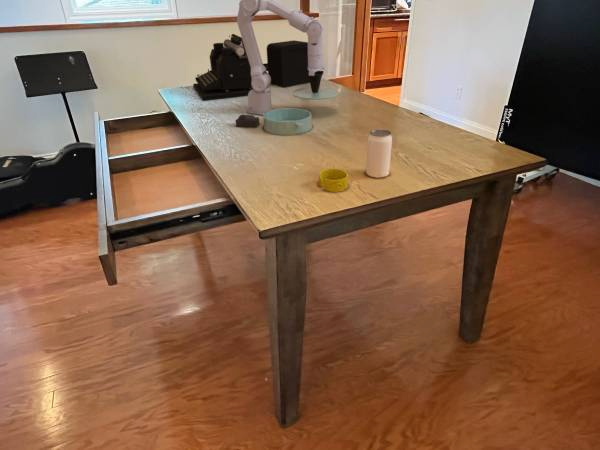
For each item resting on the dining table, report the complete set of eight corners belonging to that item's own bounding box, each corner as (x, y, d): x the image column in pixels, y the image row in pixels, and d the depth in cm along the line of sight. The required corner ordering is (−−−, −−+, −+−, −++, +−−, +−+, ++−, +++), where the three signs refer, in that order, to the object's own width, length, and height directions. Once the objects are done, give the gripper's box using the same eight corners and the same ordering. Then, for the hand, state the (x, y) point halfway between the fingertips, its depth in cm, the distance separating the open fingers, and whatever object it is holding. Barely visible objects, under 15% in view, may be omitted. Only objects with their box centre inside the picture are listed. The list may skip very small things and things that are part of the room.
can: (386, 168, 120) (389, 128, 114) (391, 178, 114) (395, 136, 108) (364, 169, 120) (366, 129, 113) (368, 178, 114) (370, 137, 108)
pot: (278, 140, 144) (278, 126, 141) (254, 123, 162) (253, 110, 159) (323, 131, 150) (323, 118, 148) (295, 116, 168) (295, 104, 166)
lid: (305, 103, 157) (305, 90, 155) (284, 93, 172) (284, 81, 169) (347, 96, 164) (348, 84, 162) (324, 87, 179) (324, 76, 177)
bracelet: (335, 177, 116) (335, 166, 114) (353, 187, 110) (354, 175, 108) (314, 183, 112) (313, 172, 111) (331, 194, 107) (331, 182, 105)
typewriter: (193, 87, 219) (185, 36, 206) (243, 82, 227) (238, 32, 214) (203, 100, 194) (194, 43, 181) (258, 94, 202) (254, 39, 189)
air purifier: (296, 78, 234) (295, 39, 223) (312, 81, 224) (312, 41, 214) (266, 83, 223) (264, 43, 213) (282, 87, 213) (280, 46, 203)
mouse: (236, 126, 158) (235, 115, 156) (240, 123, 162) (239, 112, 160) (255, 127, 157) (254, 116, 154) (259, 123, 161) (258, 113, 158)
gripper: (321, 58, 153) (321, 95, 160) (328, 52, 165) (328, 87, 172) (303, 58, 155) (304, 95, 162) (311, 52, 167) (311, 86, 174)
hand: (315, 91), depth 167 cm, fingers closed on lid, 2 cm apart
